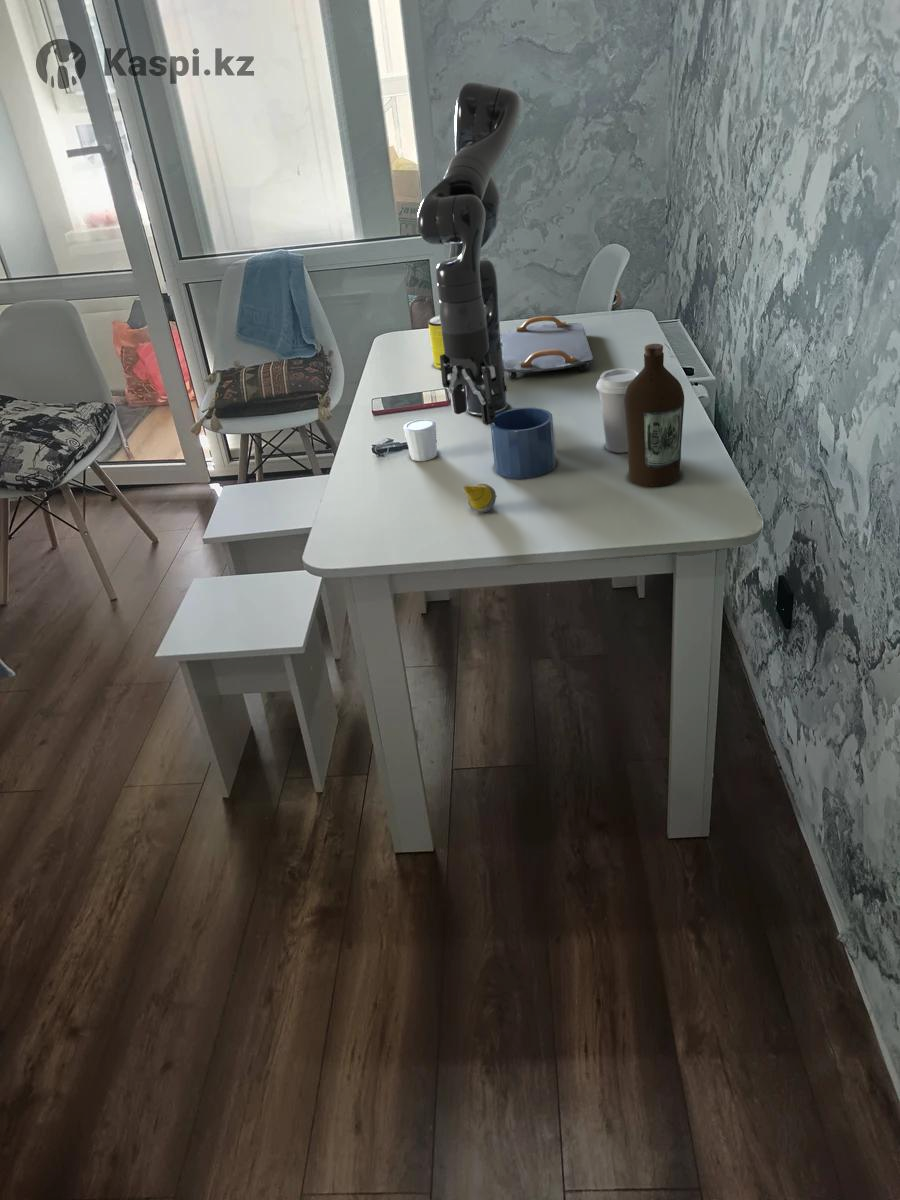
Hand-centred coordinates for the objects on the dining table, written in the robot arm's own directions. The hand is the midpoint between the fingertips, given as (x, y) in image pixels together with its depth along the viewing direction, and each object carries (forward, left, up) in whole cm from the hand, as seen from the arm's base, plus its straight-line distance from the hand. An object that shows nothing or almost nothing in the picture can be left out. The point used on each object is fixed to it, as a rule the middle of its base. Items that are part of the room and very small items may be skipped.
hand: (474, 417), depth 159 cm
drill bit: (0, 0, -19) cm, 19 cm away
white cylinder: (-31, +7, -19) cm, 37 cm away
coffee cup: (-2, +37, -19) cm, 41 cm away
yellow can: (-78, +46, -19) cm, 92 cm away
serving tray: (-61, +65, -19) cm, 91 cm away
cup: (-10, +18, -18) cm, 27 cm away
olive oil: (+13, +31, -19) cm, 38 cm away
